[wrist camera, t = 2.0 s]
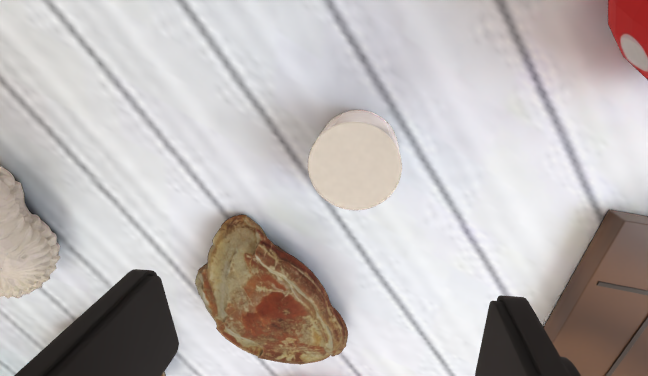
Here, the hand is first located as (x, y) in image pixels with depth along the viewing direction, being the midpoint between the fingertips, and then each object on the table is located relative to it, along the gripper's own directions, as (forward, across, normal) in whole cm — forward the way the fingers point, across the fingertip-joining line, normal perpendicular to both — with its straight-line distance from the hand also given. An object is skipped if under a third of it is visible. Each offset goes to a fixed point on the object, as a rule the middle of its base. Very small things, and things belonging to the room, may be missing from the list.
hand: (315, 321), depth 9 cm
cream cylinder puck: (+14, 0, -1) cm, 14 cm away
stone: (+14, +7, +11) cm, 19 cm away
